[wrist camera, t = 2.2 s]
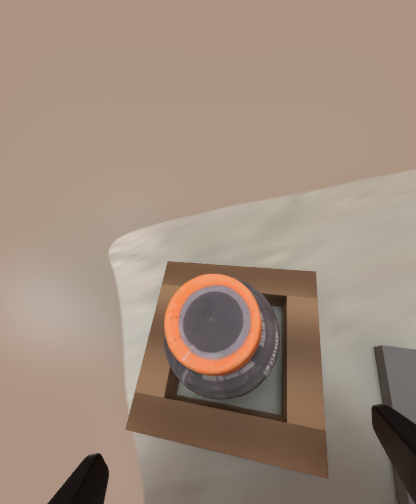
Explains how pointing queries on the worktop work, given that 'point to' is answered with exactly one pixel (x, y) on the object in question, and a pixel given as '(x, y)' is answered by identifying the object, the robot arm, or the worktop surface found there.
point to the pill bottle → (220, 336)
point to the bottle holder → (234, 418)
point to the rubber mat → (398, 391)
